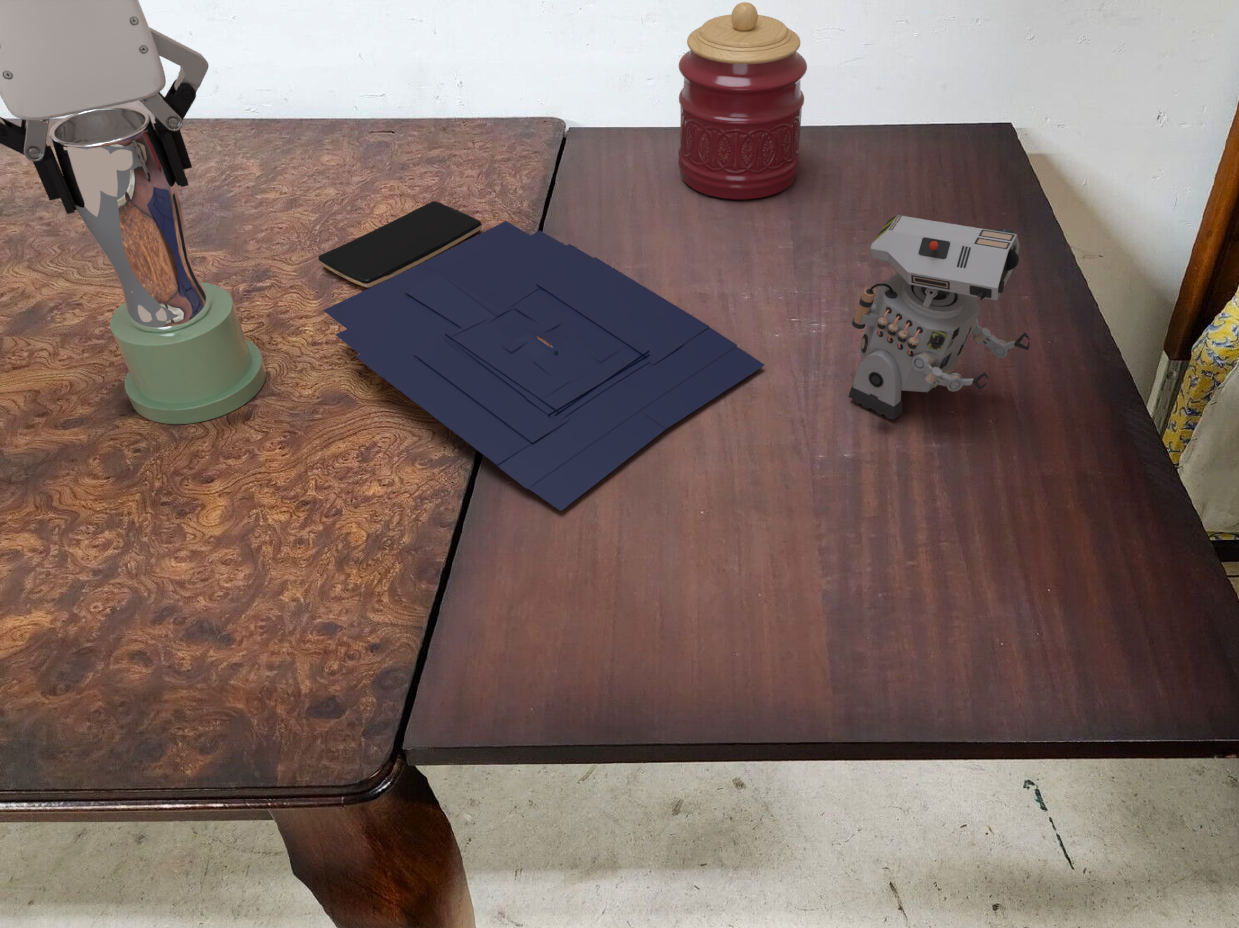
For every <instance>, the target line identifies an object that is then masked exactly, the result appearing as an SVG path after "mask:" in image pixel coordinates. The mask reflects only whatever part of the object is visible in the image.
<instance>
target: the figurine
mask: <svg viewBox="0 0 1239 928" xmlns="http://www.w3.org/2000/svg"><path fill="white" fill-rule="evenodd" d="M1018 237H1019V236H1018V234H1017V233H1014V230H1011V228H994V229H993V230H992V229H986V228H980V227H974V226H968V225H961V224H957V223H950V222H943V221H937V220H931V219H925V218H918V217H913V216H906V215H899V214H897V215H895V216H893V217H891V218H889V219H888V220H887V221H886V222H885V224H884V226H882V229H881V230H880V231H879V233H878V234H877V236H876V237H875V238H874V240H873V241H872V242H871V246H870V254H871V259H874V260H878V261H883V262H884V261H885V262H888V263H889V264H890V265H891V266H892V267H893V269H895V271H897V272H896V273H894V274H892V276H891V277H889V278H888V279H886V280H885V281H883V282H882V283H876V284H874V285H872V286H871V287H866V288H864V289H863V291H862V295H861V296H860V298H859V301H858V306H857V310H856V313H855V316H854V317H853V318H852V322H851V325H852V327H854V328H855V329H857V330H863V329H864V330H863V333H862V336H861V339H860V342H859V345H858V350H859V355H860V359H861V362H860V364H859V365H858V368H857V370H856V373H855V376H854V383H853V385H852V386H851V387H850V390H849V392H848V398H850V399H851V400H853V403H854V404H856V405H860V404H861V405H862V407H863V408H864V409H869V408H870V409H872V410H874V411H875V413H876V414H877V415H878V416H882V415H884V418H885V419H887V420H891V419H893V420H895V419H896V418H897V417H898V416H900V415H901V414H902V413H903V400H902V398H901V397H902V391H904V392H905V391H906V392H920V393H928V392H930V391H931V390H932V389H933V388H934V389H935V388H936V387H937V386H941V387H946V388H947V389H948V391H949V392H958V391H959V390H961V389H962V387H963V386H972V384H973V385H974V386H975V388H976V389H978V390H979V391H980V390H982V389H983V388H984V387H985V386H986V385H987V384H988V382H985V383H983V384H982V385H980V384H979V381H980V380H981V379H982V378H984V377H985V378H986V379H990V377H989V376H988V374H987V372H985V371H984V372H982V374H980V375H978V376H977V377H974V378H963V376H962V375H961V374H960V373H958V372H954V370H955V368H956V367H957V364H958V362H959V359H960V357H961V354H962V353H963V350H964V349H965V346H966V344H967V341H968V339H969V337H970V335H971V334H973V335H974V336H973V341H974V343H975V344H977V345H983V346H984V347H986V348H988V349H990V350H991V352H992V354H993V355H994V356H995V357H998V358H1000V359H1001V358H1006V357H1007V356H1008V352H1009V350H1011V349H1014V348H1015V347H1017V348H1021V349H1023V350H1026V351H1029V349H1030V345H1031V344H1030V341H1031V339H1030V336H1029V335H1028V333H1027V332H1026V331H1025V332H1023V333H1022V334H1021V335H1020V336H1019V337H1018V338H1017V339H1016V340H1011V341H1005V340H1003V339H999V338H997V337H996V336H995V335H993V334H992V333H991V330H990V329H989V328H987V327H981V326H980V322H979V319H978V317H979V314H980V312H981V310H982V309H981V305H980V303H979V300H980V301H983V299H986V300H992V301H996V302H997V301H998V300H999V297H1000V295H1002V294H1003V293H1004V289H1005V286H1006V284H1007V281H1008V280H1009V278H1010V276H1011V275H1012V272H1013V271H1014V269H1016V267H1017V266H1018V264H1019V260H1020V258H1019V251H1020V242H1019V238H1018ZM877 287H878V290H877V292H876V291H875V290H874V289H875V288H877ZM978 298H979V300H978ZM1024 338H1026V339H1028V343H1027V346H1026V345H1024V344H1022V343H1021V341H1022V340H1023V339H1024Z"/></svg>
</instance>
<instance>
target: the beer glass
mask: <svg viewBox="0 0 1239 928" xmlns="http://www.w3.org/2000/svg"><path fill="white" fill-rule="evenodd" d="M49 129H50V130H49V132H48V136H49V138H50V140H51V142H52V146H53V149H54V152H55V155H56V160H57V162H58V165H59V167H60V170H61V172H62V174H63V177H64V179H65V182H66V184H67V187H68V189H69V191H70V194H71V196H72V199H73V201H74V203H75V206H76V208H77V210H76V211H77V212H78V214H79V216H80V217H81V219H82V221H83V222H84V224H85V226H86V228H87V230H88V231H89V233H90V235H91V236H92V237H93V239H94V241H95V242H96V244H97V245H98V247H99V248H100V251H102V253H103V254H104V256H105V257H106V259H107V261H108V262H109V264H110V266H111V267H112V269H113V271H114V273H115V274H116V277H117V279H118V280H119V284H120V286H121V289H122V293H123V297H124V302H125V303H126V309H127V314H128V318H129V320H130V322H131V324H132V325H133V326H134V327H136V328H138V329H140V330H143V331H148V332H168V331H173V330H178V329H181V328H184V327H187V326H189V325H191V324H193V323H195V322H197V321H198V320H200V319H201V318H203V317H204V316H205V315H206V313H207V312H208V311H209V309H210V305H211V303H210V299H209V296H208V294H207V292H206V291H205V289H204V287H203V286H202V284H201V282H202V281H200V279H199V277H198V275H197V273H196V271H195V269H194V266H193V264H192V261H191V256H190V254H189V249H188V248H189V247H188V241H187V236H186V229H185V222H184V221H185V220H184V215H183V210H182V209H183V208H182V203H181V199H180V194H179V189H178V185H177V183H176V182H175V179H174V176H173V173H172V170H171V167H170V164H169V162H168V159H167V156H166V154H165V151H164V149H163V147H162V144H161V142H160V140H159V138H158V135H157V133H156V131H155V129H154V126H153V124H152V121H151V118H150V116H149V114H148V113H147V112H145V111H143V110H141V109H138V108H134V107H126V106H110V107H105V108H101V109H96V110H91V111H86V112H81V113H76V114H71V115H67V116H65V117H64V118H62V119H60V120H58V121H57V122H56V123H54V124H53V126H51V127H50V128H49Z"/></svg>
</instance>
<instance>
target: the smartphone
mask: <svg viewBox="0 0 1239 928" xmlns="http://www.w3.org/2000/svg"><path fill="white" fill-rule="evenodd" d="M482 228H483V223H482V221H480V220H479V219H477V218H476V217H473V216H471V215H469V214H467V213H465V212H462V211H460V210H458V209H456V208H453V207H452V206H448V205H446V204H444V203H442V202H440V201H435V200H432V201H430V202H427V203H425V204H424V205H422V206H420V207H418V208H416V209H414V210H412V211H410V212H408V213H406V214H404V215H401V216H400V217H398V218H396V219H394V220H392V221H389V222H388V223H386V224H383V225H382V226H379V227H378V228H376V229H374V230H371V231H369V232H368V233H365V234H363V235H361V236H359V237H357V238H355V239H353V240H350V241H349V242H346V243H344V244H342V245H340V246H337V247H336V248H333V249H331V250H329V251H327V252H324V253H322V254H319V255H318V262H319V264H320V265H321V266H322V267H324V268H325V269H327V270H329V271H330V272H332V273H334V274H336V275H338V276H339V277H341V278H343V279H345V280H347V281H349V282H351V283H353V284H355V285H359V286H361V287H363V288H371V287H373V286H375V285H377V284H379V283H381V282H383V281H386V280H388V279H390V278H392V277H394V276H396V275H398V274H400V273H402V272H404V271H407V270H409V269H411V268H413V267H415V266H417V265H419V264H421V263H423V262H425V261H427V260H429V259H431V258H433V257H435V256H437V255H439V254H441V253H443V252H445V251H447V250H449V249H451V248H453V247H454V246H456V245H458V244H460V242H462V241H464V240H466V239H467V238H469V237H471V236H473V235H474V234H476V233H477V232H479V231H481V230H482Z"/></svg>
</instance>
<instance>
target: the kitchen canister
mask: <svg viewBox="0 0 1239 928" xmlns="http://www.w3.org/2000/svg"><path fill="white" fill-rule="evenodd" d="M686 44H687V47H688V48H689V50H688V51H686V53H684V54H683V55H682V56H681V58H680V60H679V62H678V70H679V73H680V74H681V76H682V77H683V86H682V89H681V90H680V92H679V95H678V103H679V106H680V112H679V113H680V114H679V115H680V116H679V117H680V121H679V122H680V132H679V133H680V138H679V139H680V140H679V141H680V144H679V145H680V146H679V149H678V165H679V168H680V174H681V175H680V176H681V177H682V180H683V181H684V182H685V184H686V185H687V186H689V187H690V188H692V189H693V190H695V191H697V192H699V193H701V194H704V195H707V196H710V197H714V198H719V199H727V200H754V199H761V198H766V197H769V196H773V195H776V194H779V193H780V192H783V191H784V190H786V189H788V188H789V187H790V186H791V185H792V184H793V183H794V181H795V180H796V176H797V172H798V170H799V167H800V159H801V152H800V138H801V126H802V125H801V124H802V113H803V112H802V111H803V106H804V104H805V95H804V93H803V91H802V89H801V79H802V78H803V77H804V76H805V75H806V73H807V70H808V63H807V61H806V59H805V57H803V55H801V53H799V52H798V50H799V48H800V47H801V37H800V36H799V35H798V34H797V33H796V32H795V31H794V30H792V29H790V28H789V27H787V26H786V24H785V23H784V22H782V21H781V20H779V19H777V18H774V17H771V16H767V15H762V14H758V10H757V8H756V6H755V5H754V4H752V2H747V1H743V2H739V3H737V4H736V5H735V6H734V7H733V9H732V11H731V14H725V15H718V16H715V17H713V18H711V19H708V20H707V21H705V22H704V23H703V24H702V25H701V26H699V27H698V28H696V29H694V30H693V31H692V32H690V34H689V35H688V36H687V39H686Z"/></svg>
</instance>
